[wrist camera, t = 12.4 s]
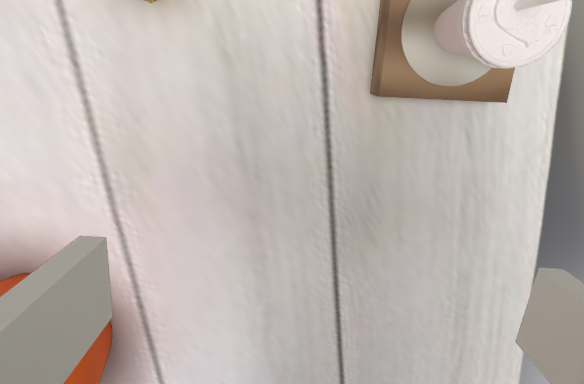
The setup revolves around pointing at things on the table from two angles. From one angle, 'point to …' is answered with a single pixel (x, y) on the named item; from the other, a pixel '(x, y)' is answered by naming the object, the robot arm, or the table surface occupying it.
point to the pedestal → (428, 59)
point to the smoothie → (502, 29)
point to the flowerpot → (92, 364)
